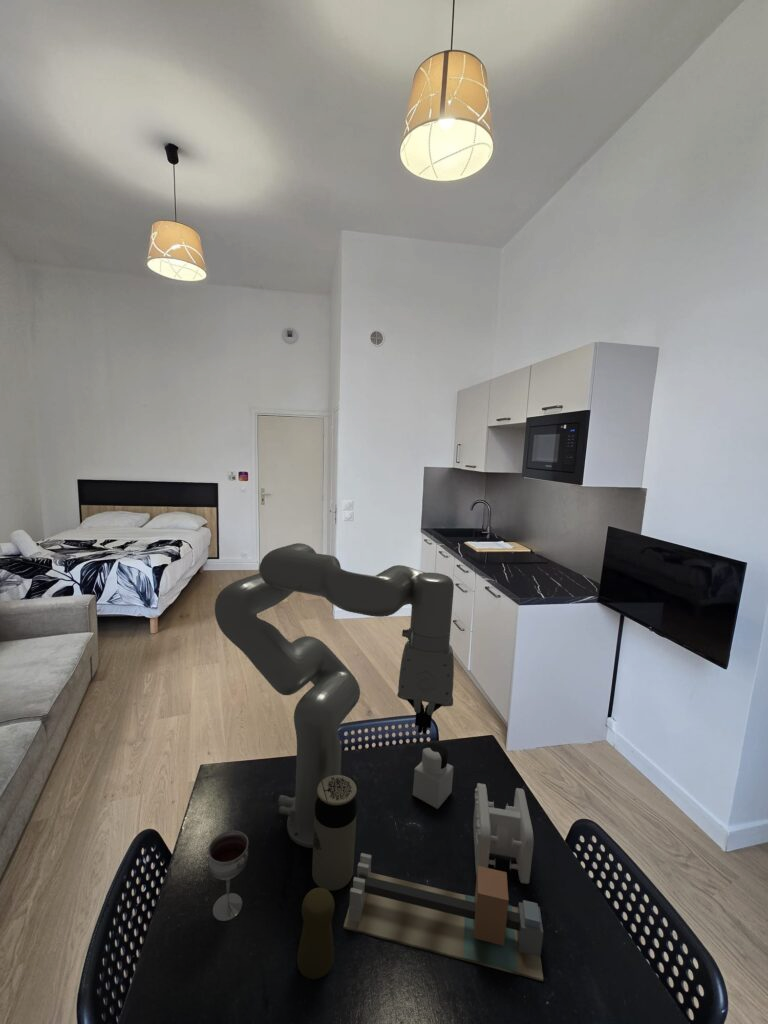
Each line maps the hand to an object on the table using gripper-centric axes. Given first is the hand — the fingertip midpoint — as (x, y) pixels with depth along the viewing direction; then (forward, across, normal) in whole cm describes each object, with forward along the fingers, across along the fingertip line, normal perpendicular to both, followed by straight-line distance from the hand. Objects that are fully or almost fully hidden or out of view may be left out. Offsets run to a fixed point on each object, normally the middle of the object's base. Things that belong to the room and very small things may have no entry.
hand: (422, 729), depth 87 cm
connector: (+29, +21, -10) cm, 37 cm away
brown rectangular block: (+28, +14, -10) cm, 33 cm away
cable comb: (+29, -8, -10) cm, 32 cm away
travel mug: (+29, -15, -6) cm, 33 cm away
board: (+29, +6, -10) cm, 31 cm away
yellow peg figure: (+29, -13, -21) cm, 38 cm away
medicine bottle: (+29, +2, +20) cm, 36 cm away
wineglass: (+29, -31, -17) cm, 46 cm away
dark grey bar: (+26, +6, -10) cm, 29 cm away
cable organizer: (+29, +17, +6) cm, 34 cm away
